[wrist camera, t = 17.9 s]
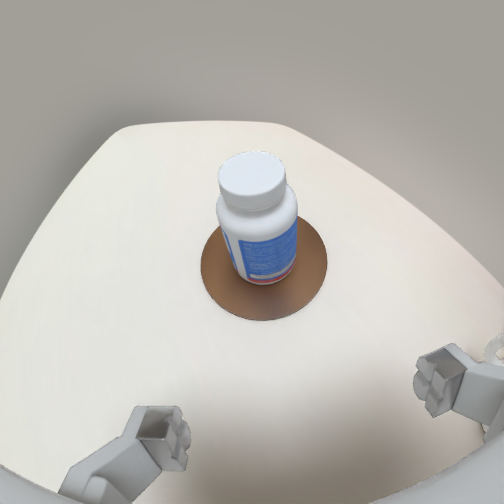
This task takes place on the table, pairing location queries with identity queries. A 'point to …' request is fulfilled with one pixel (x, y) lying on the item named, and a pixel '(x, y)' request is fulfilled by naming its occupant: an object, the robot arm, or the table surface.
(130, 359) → the table surface
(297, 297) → the coaster
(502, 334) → the cup
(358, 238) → the table surface
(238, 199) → the pill bottle
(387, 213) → the table surface
